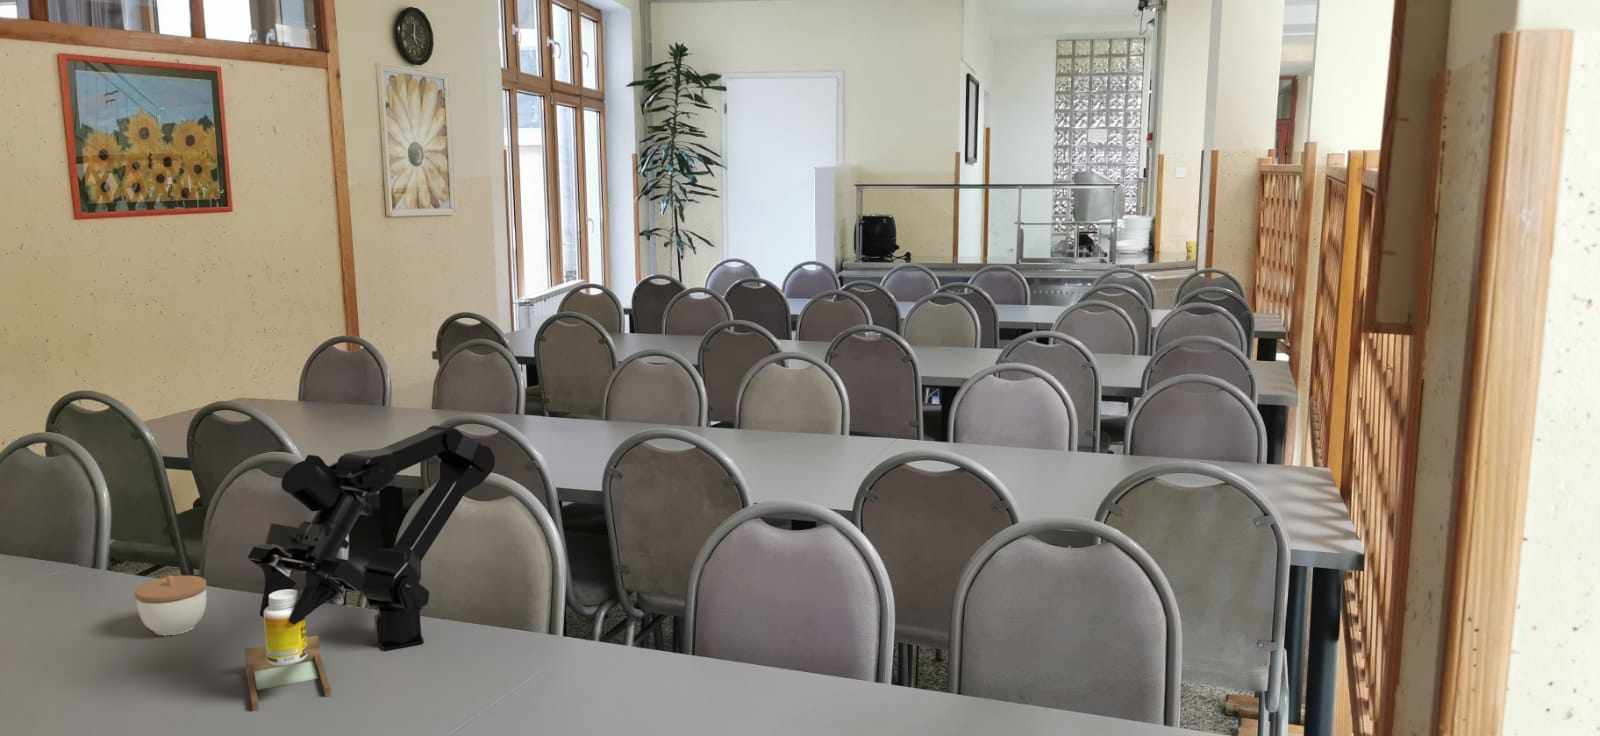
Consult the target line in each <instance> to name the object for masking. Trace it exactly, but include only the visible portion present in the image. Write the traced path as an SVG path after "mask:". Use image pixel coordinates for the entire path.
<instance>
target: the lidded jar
mask: <svg viewBox="0 0 1600 736" xmlns="http://www.w3.org/2000/svg"><path fill="white" fill-rule="evenodd" d="M134 597H135V601H136V607H137V612H138V615H139V617H140V620H141V622H142V623H143V624H144V625H145V626H146V628H148V629H149V630H151V631H152V632H154V634H155V635H156V634H157V636H159V635H163V636H162V637H170V636H169V635H173V636H178V635H181V633H182V634H185V632H186V633H188V632H190V631H192V630H194V629H195V627H196V625H197V623H199V621H200V620H201V619H202V617H203V615H204V614H205V611H206V608H207V597H208V596H207V580H206V579H205V578H203V577H201V576H198V575H176V576H175V575H168V576H166V577H162V578H159V579H155V580H151V581H148V582H146V583H144V584H141V585H140V586H138V587H137V588H136V589H135V590H134ZM189 630H190V631H189ZM177 634H178V635H177ZM167 635H168V636H167Z"/></svg>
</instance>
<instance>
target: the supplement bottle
mask: <svg viewBox="0 0 1600 736" xmlns="http://www.w3.org/2000/svg"><path fill="white" fill-rule="evenodd" d="M299 598H300V597H299V593H298V591H297V590H296V589H293V588H292V589H285V590H279V591H275V592H273V593H271V594H270V595H269V606H268V607H266V608H265V610H264V618H263V623H264V626H263V627H264V635H265V645H266V652H267V660H268V662H269V663H270V664H272V665H276V666H286V665H292V664H295V663H298V662H300V661H302V660H304V659H305V658H306V656H307V654H308V651H307V637H308V635H307V622H306V617H304V618H303V619H302V620H300V621H299V622H298V623H296V624H295V625H294V624H291V623H290V622H289V619H290V617H291V614H292V612H293V610H294V608H295V606H296V604H297V602H298V600H299Z"/></svg>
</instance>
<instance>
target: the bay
mask: <svg viewBox="0 0 1600 736" xmlns="http://www.w3.org/2000/svg"><path fill="white" fill-rule="evenodd" d="M307 651H308V654H307V656H306V658H305V659H304V660H302V661H300V662H298V663H295V664H292V665H286V666H276V665H272V664H270V663H269V662H268V660H267V652H266V644H261V645H256V646H255V645H254V646H250V647H245V648H244V659H245V667H246V668H245V669H246V671H245V672H246V677H247V678H246V679H247V684H248V689H249V697H250V702H251V708H252V712H256V711H259V710H260V708H259V700H258V693H257V691H261V690H266V689H271V688H276V687H280V686H287V685H291V684H296V683H302V682H307V681H312V680H313V681H314V680H317V679H319V680H320V683H321V686H322V690H323V694H324V696H325V697H327V698H328V697H330V696H331V697H332V689H331V685H330V682H329V679H328V676H327V672H326V670H325V667H324V663H323V659H322V656H321V655H320V639H319V635H314V636H313V635H312V636H307Z"/></svg>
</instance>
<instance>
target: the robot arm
mask: <svg viewBox="0 0 1600 736" xmlns="http://www.w3.org/2000/svg"><path fill="white" fill-rule="evenodd" d="M433 457H435V458H437V459H438V460H439V461H440V462H439V465H438V466H439V467H438V469H439V470H438V471H439V473H438V476H439V479H438V481H437V483H436V484H435V486H434V487H433V488H432V489H431V492H430V493H429V494H428V496H427V497H426V499H425V500H424V502H423V504H422V505H421V506H420V508H419V509H418V511H417V512H416V514H415V516H414V517H413V518H412V519H411V521H410V523H409V524H408V526H407V528H406V529H405V530H404V532H403V533H402V535H401V536H400V538H399V539H398V541H397V542H396V544H395V545H394V546H392V547H391V548H389V549H386V548H380V547H379V548H377V549H376V550H375V551H374V552H373V554H372V556H371V558H370V560H369V561H368V562H367V563H366V564H365V565H363V568H362V569H364V570H363V571H362V570H360V569H359V568H358V566H356V565H354V564H353V563H351V562H350V561H349V560H348V559H346V558H345V559H344V558H339V557H337V555H338V553H339V551H340V549H344V550H347V549H348V547H349V546H350V544H351V543H350V542H349V541H348V540H347V537H348V535H349V533H350V532H351V530H352V528H353V527H354V525H355V523H356V522H357V519H358V517H359V516H360V515H364V516H372V515H373V508H372V506H371V505H370V498H368V497H362V496H359V495H357V494H356V493H355V492H356V491H357V492H364V493H372V494H374V493H378V492H380V491H381V490H382V489H384V488H385V487H387V486H388V485H390V484H391V483H392V482H393V481H394V480H395V477H396V475H398V474H399V473H400V472H403V471H405V470H407V469H408V468H411V467H413V466H416V465H417V464H420V463H422V462H424V461H426V460H428V459H431V458H433ZM495 458H496V457H495V455H494V453H493V451H492V449H491V447H489V445H485V444H482V443H481V442H479V441H477V440H475V439H472V438H471V437H468V436H467V435H465V434H463V433H461V431H460V430H458V429H457V428H455V427H453V426H448V425H447V426H446V425H437V424H435V425H432V426H429V427H428V428H427V429H426V430H425V429H424V430H422V431H420V432H417V433H416V434H413V435H411V436H408V437H406V438H404V439H402V440H399V441H396V442H394V443H392V444H389V445H387V446H384V447H382V448H377V449H365V450H358V451H352V452H346V453H344V454H343V455H341V456H340V457H339V458H338V459H337V462H334V463H332V464H330V465H327V464H326V462H325V461H324V459H322V457H320V456H319V455H314V454H307V455H306V457H305V459H304V460H301V461H299V462H297V463H296V464H294V465H293V466H291V468H289V469H288V470H286V471H285V473H284V475H283V476H282V478H281V489H282V490H283V491H284V492H285V493H286V494H288V495H289V496H290V497H291V498H293V499H294V500H295V501H296V502H298V503H299V504H300V505H301V506H303V508H305V509H306V510H308V511H309V512H315V514H314V516H313V517H312V518H311V521H305V520H304V521H303V522H301V523H300V524H299V526H298V527H295V526H290V525H284V524H278V523H272V522H271V523H270V526H269V528H268V529H269V530H268V532H267V536H266V541H265V543H264V544H263V543H262V544H258V545H255V546H253V547H252V548H251V549H252V550H251V551H250V552H249V554H248V556H247V557H246V559H247V560H248V561H250V562H251V563H252V564H254V565H255V566H256V567H258V568H260V569H261V570H262V572H263V575H264V578H265V581H264V589H263V595H262V600H261V605H260V611H259V616H260V617H262V618H263V619H264V610H265V608H266V607H268V606H269V595H270V594H271V593H273V592H275V591H279V590H285V589H292V590H293V588H294V587H295V586H296V585H297V582H296V581H294V580H293V579H292V578H291V577H290V576H292V575H293V574H294V572H295V573H301V574H305V587H304V588H303V591H302V593H301V595H300V596H299V597H298V598H299V599H298V602H297V604H296V606H295V608H294V610H293V612H292V614H291V617H290V619H289V622H290V623H291V624H294V625H295V624H296V623H298V622H299V621H300V620H302V619H303V618H304V617H305V618H306V617H307V616H309V615H310V614H311V613H312V612H314V611H315V610H316V609H318V608H319V607H321V606H322V605H323V604H325V603H327V602H329V600H332V599H333V598H335V597H336V596H337V595H343V593H344V590H345V591H349V592H352V593H354V592H355V593H360V592H361V593H362V594H363V596H364V597H365V599H366V602H367V604H368V606H369V607H377V614H375V615H374V616H373V618H374V633H375V640H376V642H377V644H379V645H380V647H381V649H382V650H383V651H388V650H393V649H394V650H395V649H398V648H404V647H409V646H410V647H411V646H414V645H415V646H416V645H420V644H423V643H425V639H424V637H423V636H422V626H421V625H422V624H421V610H423V608H424V607H426V606H428V604H429V598H430V591H429V590H428V589H427V588H426V587H424V586H423V585H421V584H420V580H421V578H422V560H423V559H424V558H425V556H426V555H427V553H428V551H429V550H430V548H431V547H432V545H433V543H434V541H435V540H436V539H437V537H438V536H439V534H440V533H441V531H442V530H443V529H444V526H445V525H446V523H447V522H448V521H449V519H450V517H451V516H452V515H453V512H455V509H456V508H457V506H458V505H459V503H460V501H461V500H462V499H463V497H464V496H465V495H466V494H467V493H469V492H470V491H472V490H473V489H476V488H477V487H479V486H481V484H483V483H484V481H485V480H486V479H487V478H488V477H489V475H490V474H492V472H493V470H494V467H495V465H496V464H495V463H496V459H495ZM354 491H355V492H354ZM272 545H276V546H272ZM277 546H278V547H279V548H278V547H277ZM280 548H283V549H282V550H283V551H282V550H281V549H280ZM288 554H290V555H291V556H289V555H288ZM342 588H343V589H344V590H343V589H342Z"/></svg>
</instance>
